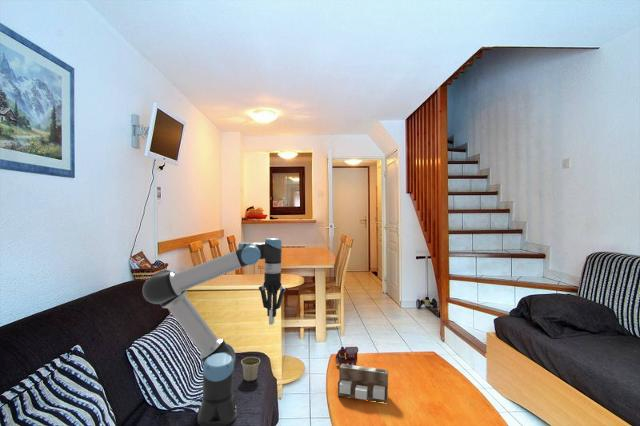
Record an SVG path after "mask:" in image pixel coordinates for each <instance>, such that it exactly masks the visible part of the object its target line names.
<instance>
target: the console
mask: <svg viewBox="0 0 640 426" xmlns="http://www.w3.org/2000/svg"><path fill="white" fill-rule="evenodd" d="M338 369H339V372H338V373H339V377H338V380H337V397H339V396H342V397H341V398H345V397H350V398H349V399H351V398H355V389H356V385H360V386H367V387H368V396H367V400H368V401H367V402H369V401H376V402H384V403H387V404H388V399H387V397H389V370H388V369H382V368H377V367H370V366H361V365H356V366H355V365H349V364H348V363H347V364H341V365H339V368H338ZM341 380H344V381H351V382H352V391H351V394H344V393H339V386H340V382H341ZM374 385H377V386H384V387H385V399H384V400H381V399H375V398H373V387H374ZM363 400H364V399H362V400H361V401H363Z"/></svg>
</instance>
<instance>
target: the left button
mask: <svg viewBox="0 0 640 426" xmlns="http://www.w3.org/2000/svg"><path fill="white" fill-rule="evenodd" d="M351 391H352V382H351V381H344V380H341V382H340V386H339V393H344V394H351Z"/></svg>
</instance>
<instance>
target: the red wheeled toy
mask: <svg viewBox="0 0 640 426" xmlns="http://www.w3.org/2000/svg"><path fill="white" fill-rule="evenodd" d="M358 352H359V348H358V346H345V347H344V346H341V347H340V349H338V350H337V353H336V355H335V364H337V365H339V366H340V365H341V364H348V365H355V366H357V363H358Z"/></svg>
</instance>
